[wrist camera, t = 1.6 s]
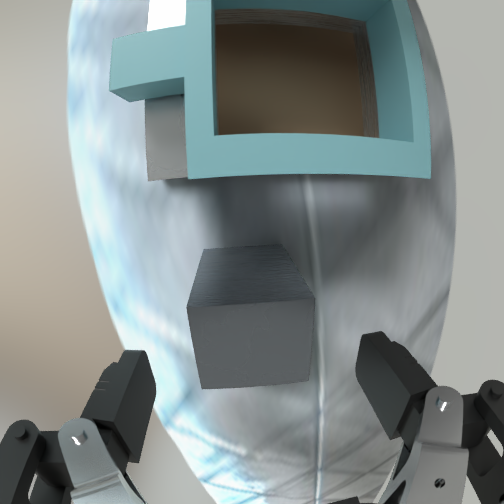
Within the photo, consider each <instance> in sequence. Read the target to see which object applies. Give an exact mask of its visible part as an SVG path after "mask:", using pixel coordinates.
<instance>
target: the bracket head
mask: <svg viewBox="0 0 504 504" xmlns="http://www.w3.org/2000/svg"><path fill="white" fill-rule="evenodd" d="M242 8H260V9H284V10H297V11H306V12H315V13H322V14H329V15H335V16H341V17H346V18H351V19H356V20H361V21H365V22H366V27H367V32H368V38H369V43H370V49H371V56H372V62H373V70H374V78H375V86H376V96H377V108H378V122H379V138H372V137H361V136H348V135H332V134H307V133H259V134H233V135H218V131H217V106H216V72H215V10H217V9H242ZM109 91H111V92H112V93H114V94H116V95H118V96H119V97H121V98H123V99H125V100H126V101H128V102H134V101H139V100H144V99H150V98H156V97H163V96H170V95H177V94H185V129H186V152H187V169H188V179H198V178H211V177H225V176H243V175H267V174H362V175H385V176H401V177H415V178H427V179H431V140H430V123H429V110H428V100H427V92H426V84H425V77H424V71H423V65H422V59H421V54H420V49H419V44H418V40H417V35H416V31H415V27H414V23H413V20H412V16H411V12H410V9H409V6H408V2H407V0H186V13H185V25H179V26H172V27H166V28H160V29H155V30H150V31H145V32H140V33H136V34H131V35H127V36H123V37H119V38H116V39H113V42H112V52H111V64H110V81H109Z"/></svg>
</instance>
